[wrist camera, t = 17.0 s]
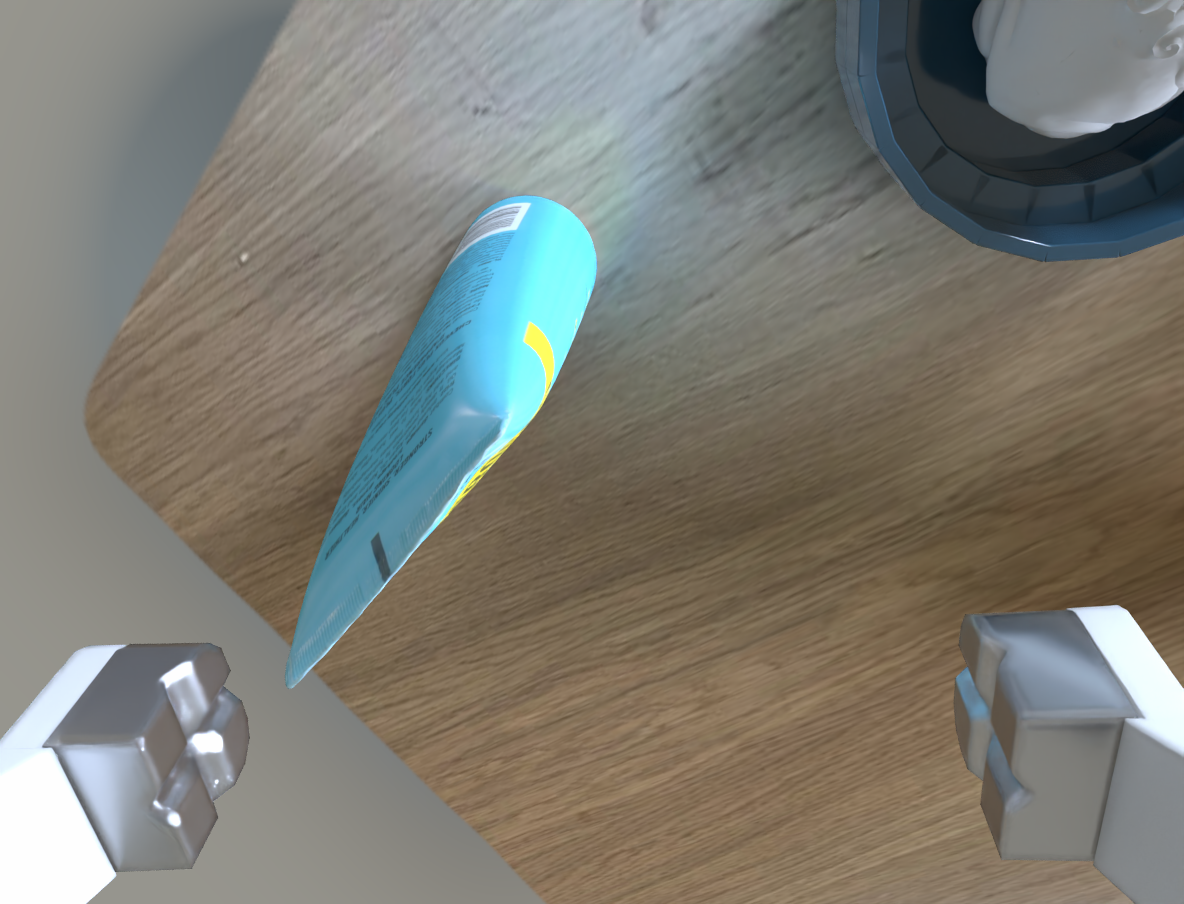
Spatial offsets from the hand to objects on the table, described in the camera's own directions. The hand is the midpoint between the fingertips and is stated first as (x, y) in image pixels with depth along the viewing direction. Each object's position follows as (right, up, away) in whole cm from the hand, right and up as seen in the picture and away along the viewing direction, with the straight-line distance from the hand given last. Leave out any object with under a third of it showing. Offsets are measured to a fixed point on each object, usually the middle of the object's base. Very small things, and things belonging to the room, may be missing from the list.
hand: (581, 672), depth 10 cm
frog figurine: (+14, +16, +18) cm, 28 cm away
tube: (-2, +9, +24) cm, 25 cm away
